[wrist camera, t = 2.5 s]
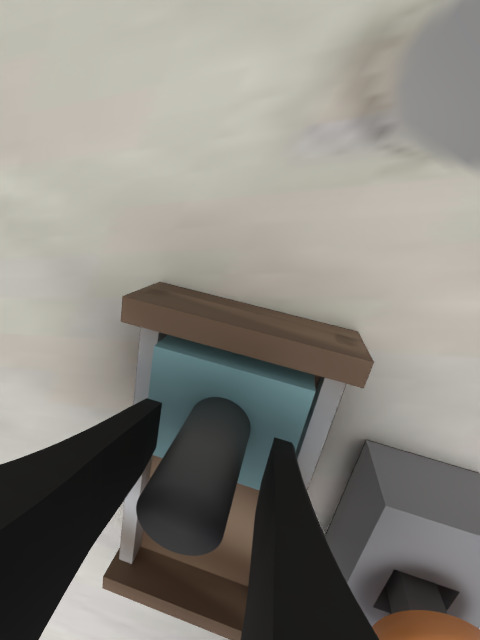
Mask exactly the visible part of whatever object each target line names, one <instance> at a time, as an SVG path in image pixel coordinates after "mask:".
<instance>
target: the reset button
mask: <svg viewBox="0 0 480 640" xmlns="http://www.w3.org/2000/svg"><path fill="white" fill-rule="evenodd" d="M385 586H386V591H387V595H388V599H389V604H390V608H391V612H392V614H390V615H387V616H385V617H383V618H381V619H380V620H378V621H377V622H376V623H375V624H374V625H373V626H372V628H373V629H374V631H375V633H376V634H377V636H378V638H379V640H480V630H479V629H478V628H477V627H475V626H474V625H472V624H470V623H468V622H466V621H464V620H462V619H460V618H457V617H455V616H452V615H448V614H447V611H446V609H445V606H444V603H443V601H442V598H441V595H440V593H439V590H438V587H437V584H435V583H433V582H430V581H427V580H424V579H421V578H418V577H415V576H412V575H409V574H407V573H404V572H401V571H398V570H395V569H394V570H393V572H392V574H391V576H390V578H389V579H388V581H387V583H386V585H385Z"/></svg>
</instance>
